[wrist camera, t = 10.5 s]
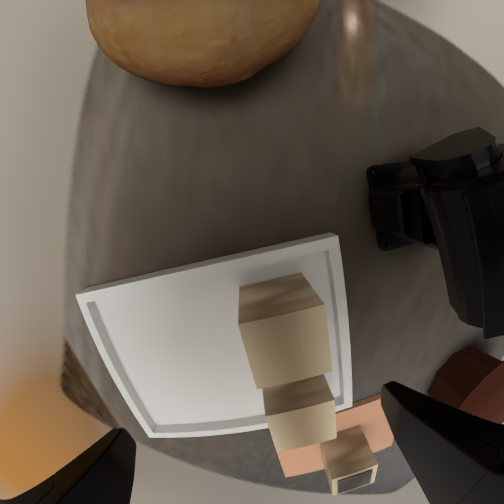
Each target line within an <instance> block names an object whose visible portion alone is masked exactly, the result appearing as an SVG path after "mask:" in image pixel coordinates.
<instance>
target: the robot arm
mask: <svg viewBox="0 0 504 504" xmlns="http://www.w3.org/2000/svg"><path fill="white" fill-rule="evenodd" d="M410 159H411V161H407V162H398V163H390V164H382V165H375V166H370V167H369V168H368V169H367V176H368V181H369V186H370V192H371V193H370V195H369V198H370V204H371V210H372V217H373V224H374V227H375V228H376V231H377V239H378V246H379V248H380V249H382V250H384V251H387V250H390V249H394V248H398V247H401V246H405V245H409V244H412V243H419V244H422V245H425V246H428V247H431V248H434V249H437V250H439V254H440V258H441V262H442V266H443V271H444V276H445V280H446V285H447V291H448V296H449V302H450V305H451V306H452V308H453V309H454V310H455V312H456V313H457V314H458V317H459V320H461V321H463V322H464V323H466V324H468V325H472V326H476V327H480V328H483V337H484V338H485V339H489V338H493V337H497V336H501V335H504V143H503V144H498V142H497V139H496V137H495V136H493V135H491V134H490V133H488V132H486V131H485V130H483V129H481V128H480V127H477V128H473V129H470V130H466V131H462V132H459V133H455V134H453V135H451V136H449V137H447V138H445V139H443V140H441V141H439V142H437V143H435V144H433V145H431V146H429V147H427V148H426V149H424V150H422V151H420V152H418V153H416V154H414V155H412V156H410ZM373 169H374V170H375V175H373V174H372V170H373ZM385 241H386V245H385V246H383V243H384V242H385ZM381 407H382V409H383V411H384V414H385V416H386V419H387V421H388V424H389V426H390V429H391V431H392V434H393V436H394V439H395V441H396V443H397V445H398V446H399V448H400V450H401V452H402V453H403V455H404V457H405V459H406V461H407V462H408V464H409V466H410V468H411V470H412V472H413V473H414V475H415V477H416V479H417V481H418V482H419V484H420V486H421V488H422V490H423V492H424V494H425V495H426V497H427V499H428V501H429V503H430V504H504V424H500V423H496V422H492V421H489V420H486V419H483V418H481V417H478V416H475V415H472V414H470V413H467V412H465V411H462V410H460V409H457V408H455V407H453V406H450V405H448V404H445V403H443V402H440V401H438V400H436V399H433V398H431V397H429V396H427V395H424V394H422V393H420V392H417V391H415V390H413V389H411V388H408V387H406V386H404V385H402V384H400V383H398V382H395V381H391V382H388V383H386V384H384V385H382V389H381ZM135 456H136V443H135V441H134V439H133V438H132V436H131V435H130V434H129V432H128V431H127V430H126V429H125V428H120V427H115V428H113V429H112V430H111V431H109V432H108V433H107V434H106V435H105V436H103V437H102V438H101V439H99V440H98V441H97V442H96V443H94V444H93V445H92V446H91V447H90V448H88V449H87V450H85V451H84V452H83V453H81V454H80V455H79V456H77V457H76V458H75V459H74V460H72V461H71V462H70V463H68V464H67V465H66V466H64V467H63V468H61V469H60V470H59V471H57V472H56V473H55V474H54V475H52V476H50V477H49V478H48V479H46V480H45V481H43V482H42V483H40V484H38V485H37V486H35V487H33V488H32V489H30V490H28V491H26V492H24V493H22V494H20V495H18V496H17V497H14V498H12V499H8V500H0V504H130V498H131V493H132V487H133V481H134V470H135Z"/></svg>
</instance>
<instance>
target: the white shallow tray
mask: <svg viewBox="0 0 504 504" xmlns="http://www.w3.org/2000/svg"><path fill="white" fill-rule="evenodd" d="M300 272H301V273H302V274H303V275H304V277H305V278H306V279H307V281H308V282H309V283H310V285H311V286H312V288H313V289H314V290H315V292H316V293H317V294H318V296H319V297H320V298H321V300H322V301H323V302H324V304H325V309H326V317H327V325H328V333H329V342H330V351H331V361H332V372H329V373H325V374H324V376H325V378H326V381H327V383H328V385H329V388H330V390H331V392H332V395H333V397H334V399H335V412H337V411H340V410H343V409H346V408H349V407H352V368H351V348H350V334H349V321H348V310H347V300H346V291H345V282H344V274H343V266H342V259H341V252H340V245H339V239H338V236H337V235H335V234H333V233H331V232H329V233H324V234H320V235H315V236H311V237H306V238H302V239H297V240H293V241H289V242H284V243H280V244H275V245H271V246H266V247H262V248H258V249H253V250H249V251H244V252H240V253H236V254H231V255H227V256H222V257H218V258H214V259H209V260H205V261H200V262H196V263H192V264H187V265H183V266H179V267H174V268H170V269H165V270H161V271H157V272H152V273H148V274H144V275H139V276H135V277H131V278H126V279H122V280H118V281H113V282H109V283H104V284H100V285H96V286H91V287H87V288H85V289H83V290H82V291H80V292H79V293H77V294H76V298H77V301H78V303H79V306H80V309H81V311H82V314H83V316H84V319H85V321H86V324H87V326H88V328H89V331H90V333H91V335H92V337H93V340H94V342H95V344H96V346H97V348H98V350H99V353H100V355H101V357H102V359H103V361H104V363H105V365H106V367H107V369H108V370H109V372H110V374H111V376H112V378H113V380H114V382H115V383H116V385H117V387H118V389H119V391H120V392H121V394H122V396H123V397H124V399H125V401H126V403H127V404H128V406H129V407H130V409H131V411H132V412H133V414H134V415H135V417H136V418H137V420H138V422H139V423H140V425H141V426H142V428H143V429H144V430H145V432H146V433H147V435H148V436H149V438H176V437H198V436H212V435H222V434H231V433H239V432H246V431H253V430H259V429H265V428H269V427H268V423H267V420H266V417H265V409H264V400H263V390H262V389H257V388H256V385H255V381H254V378H253V375H252V371H251V368H250V365H249V361H248V358H247V354H246V351H245V347H244V344H243V340H242V337H241V333H240V330H239V326H238V310H239V286H244V285H248V284H253V283H257V282H261V281H266V280H270V279H275V278H279V277H283V276H288V275H292V274H296V273H300Z"/></svg>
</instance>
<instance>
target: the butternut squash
mask: <svg viewBox="0 0 504 504" xmlns="http://www.w3.org/2000/svg"><path fill="white" fill-rule="evenodd" d="M320 3H321V0H86V9H87V17H88V22H89V27H90V30H91V32H92V35H93V37H94V39H95V41H96V42H97V44H98V46H99V47H100V48H101V50H102V51H103V52H104V53H105V54H106V55H107V56H108V58H109V59H111V60H112V61H113V62H114V63H115V64H116V65H118V66H119V67H121V68H122V69H124V70H126V71H127V72H129V73H131V74H133V75H135V76H138V77H141V78H144V79H147V80H150V81H154V82H157V83H163V84H168V85H174V86H196V87H202V88H211V87H216V86H222V85H228V84H232V83H237V82H241V81H243V80H246V79H248V78H250V77H252V76H253V75H255V74H256V73H257V72H258V71H260V70H261V69H262V68H264V67H266V66H267V65H269V64H271V63H273V62H275V61H277V60H278V59H280V58H281V57H282V56H284V55H285V54H286V53H288V52H289V51H291V50H292V49H293V48H294V47H295V46H296V45H297V44H298V43H299V42H300V40H301V39H302V38H303V36H304V35H305V34H306V32H307V30H308V28H309V26H310V24H311V23H312V21H313V19H314V18H315V16H316V14H317V12H318V10H319V7H320Z"/></svg>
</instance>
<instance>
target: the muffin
mask: <svg viewBox="0 0 504 504" xmlns="http://www.w3.org/2000/svg"><path fill="white" fill-rule="evenodd" d="M428 394H429V397H431V398H433V399H436V400H438V401H440V402H443V403H445V404H448V405H450V406H453V407H455V408H457V409H460V410H462V411H465V412H467V413H470V414H472V415H475V416H478V417H481V418H483V419H486V420H489V421H492V422H496V423H500V424H502V423H503V422H504V361H501V360H499V359H497V358H494V357H492V356H490V355H488V354H486V353H484V352H482V351H480V350H478V349H475V348H473V347H471V346H469V345H468V346H467V347H465V348H464V349H462V350H461V351H458V352H456V353H454V354H452V356H451V357H450V358H449V359H448V361H447V362H446V363H445V364H444V365H443V366H442V367H441V368H440V369H439V370H438V371H437V373H436V375H435V378H434V380H433V382H432V384H431V386H430V388H429V389H428Z"/></svg>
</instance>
